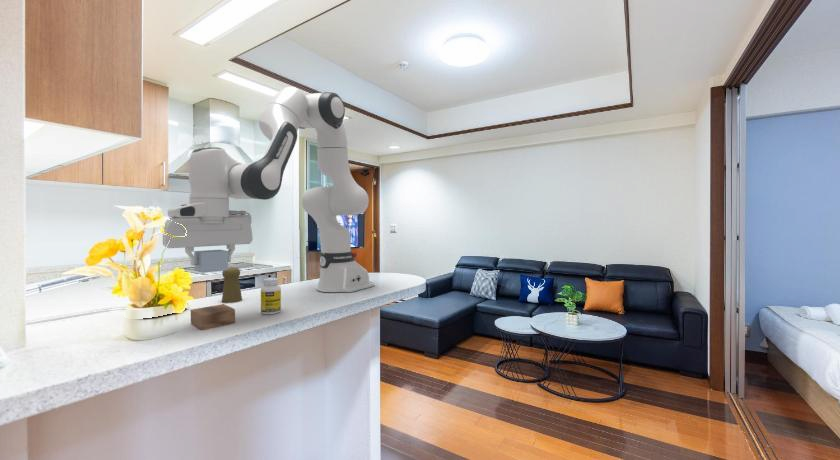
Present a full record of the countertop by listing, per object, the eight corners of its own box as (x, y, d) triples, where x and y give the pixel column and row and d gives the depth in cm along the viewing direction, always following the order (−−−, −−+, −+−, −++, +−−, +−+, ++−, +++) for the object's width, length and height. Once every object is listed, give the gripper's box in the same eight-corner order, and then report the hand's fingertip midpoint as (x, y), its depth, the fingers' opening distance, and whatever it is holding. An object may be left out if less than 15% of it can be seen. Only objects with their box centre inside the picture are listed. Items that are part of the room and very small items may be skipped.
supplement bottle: (264, 316, 100) (263, 281, 100) (258, 312, 104) (257, 278, 104) (283, 312, 104) (283, 279, 103) (277, 309, 108) (277, 276, 108)
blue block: (219, 267, 97) (219, 249, 97) (228, 269, 93) (227, 250, 93) (194, 270, 93) (194, 251, 93) (202, 272, 89) (201, 252, 89)
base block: (224, 318, 99) (223, 304, 99) (235, 324, 94) (234, 309, 94) (190, 324, 93) (190, 309, 93) (200, 331, 88) (200, 315, 88)
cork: (246, 298, 121) (245, 266, 121) (235, 303, 115) (234, 269, 115) (229, 298, 122) (228, 266, 122) (217, 302, 116) (216, 269, 116)
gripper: (246, 210, 102) (247, 259, 103) (159, 210, 87) (161, 266, 88) (256, 210, 98) (257, 260, 99) (166, 209, 83) (168, 269, 83)
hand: (211, 263), depth 93 cm, fingers closed on blue block, 6 cm apart
